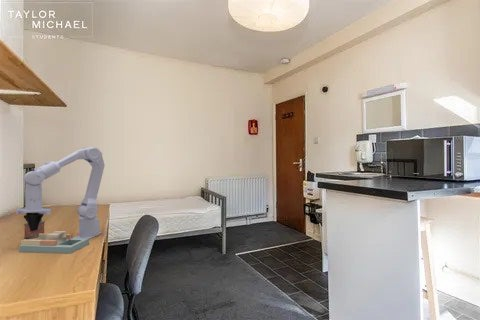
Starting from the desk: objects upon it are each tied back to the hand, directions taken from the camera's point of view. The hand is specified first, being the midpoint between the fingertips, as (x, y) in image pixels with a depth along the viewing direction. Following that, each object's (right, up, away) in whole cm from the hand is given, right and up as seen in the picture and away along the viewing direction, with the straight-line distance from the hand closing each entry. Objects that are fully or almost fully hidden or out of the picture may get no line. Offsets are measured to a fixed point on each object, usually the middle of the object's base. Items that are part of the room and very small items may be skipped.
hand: (34, 230), depth 115 cm
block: (+10, -5, -1) cm, 11 cm away
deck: (+10, -7, -1) cm, 12 cm away
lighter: (-10, -7, +14) cm, 19 cm away
